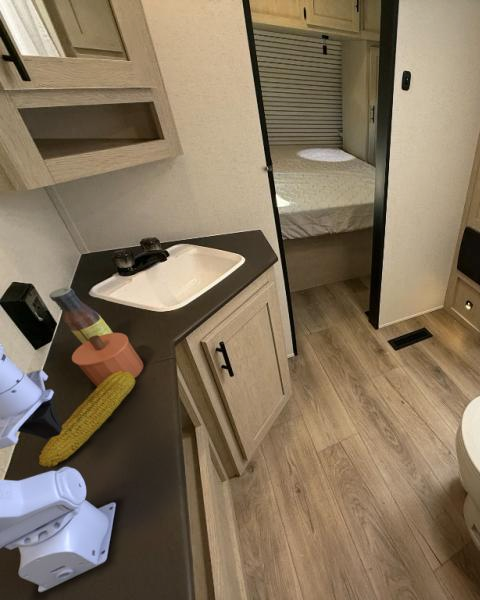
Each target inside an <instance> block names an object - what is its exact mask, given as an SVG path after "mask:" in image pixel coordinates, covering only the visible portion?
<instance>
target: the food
mask: <svg viewBox="0 0 480 600" xmlns="http://www.w3.org/2000/svg"><path fill="white" fill-rule="evenodd" d="M135 384H136V378H134V376H133V375H132V374H131V373H129V372H122V371H119V372H116V373H113V374H112V375H110V376H108V377H107V378H106V379H105V380H104V381H103V382H102V383H100V385H99V386H98V387H97V386H96V388H95V389H94V391H93V392H91V393H90V395H89V396H88V397H87V398H86V399H85V400H84V401H83V403H81V405H79V406H78V407H77V408H76V409H75V410H74V412H73V413H72V414H71V415H70V416H69V417H68V419H67V420H66V421H64V423H63V424H61V426H62V431H61V433H60V435H57V436H54V437H51V438H49V440H48V442H46V444H45V445H44V447H43V449H42V450H41V451H40V453H41V454H40V455H38V456H39V457H38V459H39V463H38V464H39V465H40V466H42V467H43V468H44V467H47V468H50V467H54V466H57V465H58V464H59V463H62V462H63V461H65V460H67V459H68V458H69V457H70V456H72V455H73V454H74V453H75V452H76V451H78V449H80V448H81V447H82V446H83V445H84V444H85V443H86V442H87V441H88V440H89V439H90V438H91V436H93V434H94V433H95V432H96V431H97V430H99V429H100V427H101V426H102V425H103V424H104V423H106V421H107V419H109V417H110V416H112V414H113V413H114V411H115V410H116V409H117V408H118V407H119V406H120V404H121V403H122V401H124V399H125V398H127V396H128V395H129V394H130V393H131V391H132V389H133V388H134V387H135Z"/></svg>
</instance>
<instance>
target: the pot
mask: <svg viewBox="0 0 480 600" xmlns="http://www.w3.org/2000/svg"><path fill="white" fill-rule="evenodd" d="M77 366H78V367H79V368H80V369H81V370H82V371H83V373H84V374H85V376H87V378H88V379H89V380H90V381H91V382H92V383H93V385H94V386H95V387H96V388H97V387H98V386H99V385H100V383H102V382H103V381H104V380H105V379H106V378H107V377H108V376H110V375H112V374H113V373H116V372H119V371H122V372H129V373H131V374H132V375H133V376H134V379H136V378H137V377H138V376H139V375H140V374H141V372H142V371H143V369H144V362H143V361H142V359H141V358H140V356H139V354H138V353H137V352H136V350H135V349H134V347H133V346H132V344H131V343H130V341H129V342H128V345H127V346H126V348H125V349H124V350H123V351H122V352H120V353H119V354H118V355H116V356H114V357H113V358H111V359H109V360H107V361H104V362H101V363H98V364H94V365H88V366H81V365H77Z"/></svg>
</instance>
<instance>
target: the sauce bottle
mask: <svg viewBox="0 0 480 600" xmlns="http://www.w3.org/2000/svg"><path fill="white" fill-rule="evenodd" d="M49 298H50V299H51V301H53V302H55V303H56V305H57V306H58V307H59V308H60V310H61V312H62V321H63V322H64V323H65V325H66V326H67V327H68V329H69V330H70V331H71V332H72V333H73V335H74V336H75V337H76V338H77V339H78V340H79V342H81V345H82V344H84V343H86V342H87V341H88V339H89V338H90V337H92V336H96V335H98V336H101V335H105V334H109V333H114V332H113V331H112V329H111V328H110V326H109V325H108V324H107V323H106V322H105V319H103V318H102V316H101V314H100V313H98V311H96V310H95V309H93V308H92V307H90V306H89V305H87V304H86V303H84V302H82V301H81V300H80V299H79V297H78V296H77V295H76V292H75V290H74V289H72V287H68V286H67V287H66V286H65V287H61V288H58V289H55V290H53V291H51V292H50V293H49Z"/></svg>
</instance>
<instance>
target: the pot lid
mask: <svg viewBox="0 0 480 600" xmlns="http://www.w3.org/2000/svg"><path fill="white" fill-rule="evenodd" d="M128 342H129V343H130V341H129V337H128V336H127V335H126V334H124V333H121V332H113V333H109V334H105V335H101V336H98V335H96V336H92V337H90V338H89V339H88V341H87V342H86V343H84V344H82V343H81V345H80V346H79V347H77V348H76V349H75V350H74V352H73V353H72V356H71V360H72V362H73V363H74V364H75V365H77V366H78V365H81V366H88V365H94V364H98V363H101V362H104V361H107V360H109V359H111V358H113V357H114V356H116V355H118V354H119V353H120V352H122V351H123V350H124V349H125V348H126V346H127V345H128Z"/></svg>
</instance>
